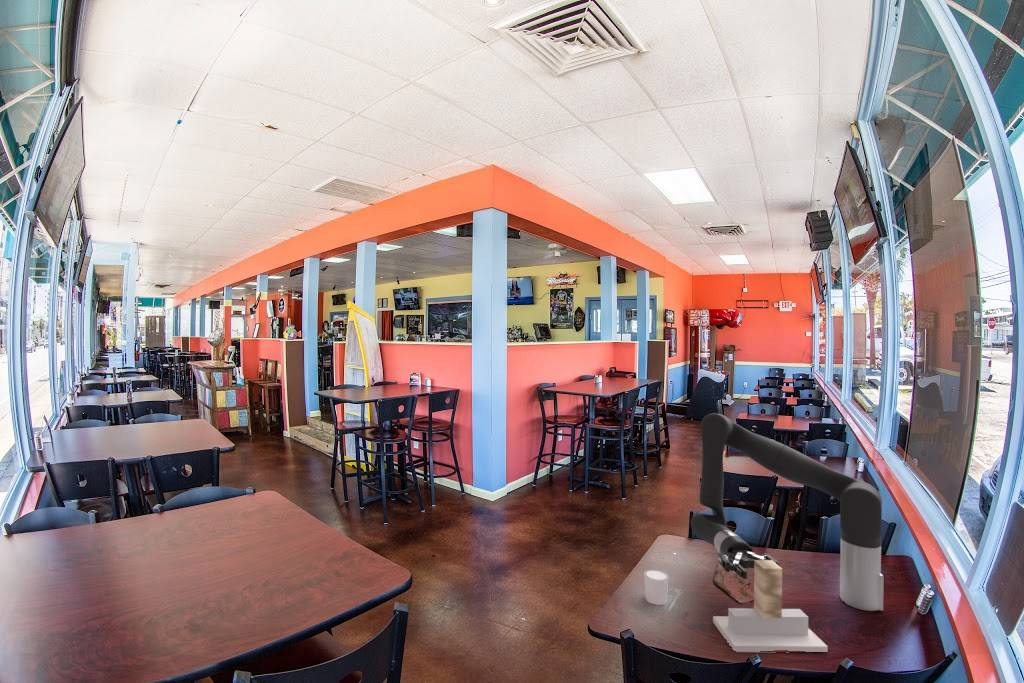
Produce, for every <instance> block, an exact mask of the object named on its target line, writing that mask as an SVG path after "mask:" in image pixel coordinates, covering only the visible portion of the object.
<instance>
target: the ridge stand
mask: <svg viewBox="0 0 1024 683" xmlns="http://www.w3.org/2000/svg"><path fill="white" fill-rule="evenodd" d="M727 609H728V612H727V613H728V615H727V616H725V615H724V616H716V615H715V616H713V617H712V623H713V625H715V627H716V628H717V630H718V631H719V632H720V634H721V635H722V637H723V638H724V640H725V639H726V640H727V641H726V640H725V641H726V642H727V644H728V643H729V644H728V645H729V647H730V646H731V647H732V648H731V647H730V648H731V650H732V651H733V650H734V651H736V652H735V653H761V652H760V651H774V650H788V651H805V652H829V651H828V647H829V646H828V645H827V644H826V643H825V642H824V641H823V640H822V639H821V638H820V637H818V636H817V634H816V633H815V632H813V631H812V630H811V628H809V616H808V615H807V614H806V613H805V612H804V611H803V610H802V609H801V608H782V618H763V617H762V616H761V615H760V614H759V613H758V612H757V610H756V609H755V608H740V607H739V608H738V607H736V608H735V607H733V608H729V607H728V608H727ZM734 651H733V652H734Z"/></svg>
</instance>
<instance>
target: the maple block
mask: <svg viewBox="0 0 1024 683" xmlns="http://www.w3.org/2000/svg"><path fill="white" fill-rule="evenodd" d="M753 571H754V572H753V575H754V576H753V577H754V578H753V593H754V601H753V609H756V610H757V612H758V613H759V614H760V615H761V616H762V617H763V618H782V609H783V608H782V607H783V606H782V605H783V568H782V567H781V566H780V565H779V566H778V565H777V564H776V563H775V562H774V561H773V560H754V570H753Z"/></svg>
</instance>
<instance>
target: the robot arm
mask: <svg viewBox="0 0 1024 683" xmlns="http://www.w3.org/2000/svg"><path fill="white" fill-rule="evenodd" d="M700 432H701V435H700V436H701V443H702V444H701V445H702V449H701V450H702V461H701V462H702V466H701V475H700V483H699V484H700V486H699V487H700V488H699V497H698V499H699V503H700V504H701V505H702V506H703V507H706V508H709V509H710V510H711V511H712V514H708V513H702V512H700V513H695V514H694V515H692V518H691V520H690V525H691V526H690V527H691V530H692V532H693V533H694V534H695V536H696V537H697V538H699V539H701V540H702V541H704V542H706V543H708V544H711V545H712V546H713V547H714V549H715V550H717V552H718V554H717V555H718V558H717V559H718V561H717V563H718V562H719V564H720V565H721V566H722V567H723V569H724V570H725V571H726V572H730V570H731V571H733V572H734V573H736V574H737V575H738V576H740V577H742V578H743V579H748V578H747V577H748V573H747V570H746V569H751V570H752V569H754V560H773V561H774V562H775V563H776V564H777V565H778V566H780V561H778V560H777V559H776V558H774V557H773V556H771V554H768V553H767V552H765V553H763V555H759V554H757V553H755V552H754V550H753V549H752V546H750V544H748V542H746V541H745V540H744V539H743V538H742V537H740V536H739V535H738V534H737V533H735V532H733V531H732V530H731V529H729V527H728V524H727V520H726V516H725V510H724V504H723V502H724V489H725V488H724V487H725V476H724V451H725V446H727V447H729V448H732V449H735V450H737V451H739V452H741V453H742V454H744V455H745V456H747V457H749V458H750V459H751V460H752V461H754V462H756V463H757V464H758V465H760V466H762V467H763V468H764V469H767V470H768V471H770V472H771V473H774V474H775V475H777V476H779V477H781V478H783V479H785V480H788V481H790V482H793V483H796V484H799V485H803V486H806V487H810V488H813V489H817V490H820V491H821V492H823V493H825V494H826V495H829V496H831V497H832V498H834V499H836V500H838V501H839V502H840V504H839V506H840V508H839V509H840V512H839V515H840V516H839V517H840V518H839V520H840V523H839V524H840V526H839V528H840V562H839V567H840V568H839V570H840V571H839V574H840V575H839V598H841V599H840V600H841V601H842V602H843V601H844V602H845V603H844V602H843V603H844V604H846V605H848V606H851V607H853V608H854V609H857V610H858V609H859V610H862V611H867V612H868V611H869V612H875V611H884V574H882V572H881V568H882V566H881V565H882V562H881V561H882V519H883V518H882V516H883V515H882V514H883V513H882V512H883V510H882V509H883V508H882V507H883V506H882V504H883V500H882V496H881V493H880V492H879V490H878V489H877V488H876V487H874V486H873V485H871V484H869V483H868V482H865V481H863V480H860V479H857V478H854V477H852V476H849V475H846V474H844V473H843V472H839V471H837V470H834V469H832V468H830V467H828V466H827V465H825V464H822V463H820V462H819V461H817V460H816V459H813V458H812V457H809V456H808V455H806V454H804V453H801V452H800V451H798V450H796V449H794V448H791V447H790V446H789V445H786V444H783V443H781V442H779V441H778V440H777V441H776V440H774V439H771V438H770V437H766V436H762V435H760V434H757V433H754V432H752V431H750V430H748V429H747V428H745V427H743V426H741V425H740V424H738V423H736V422H734V421H733V420H732V419H730V418H729V417H727V416H725V415H723V414H721V413H717V412H712V413H709V414H706V415H705V416H704V417H703V418H702V420H701V422H700Z"/></svg>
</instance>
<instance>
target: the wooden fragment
mask: <svg viewBox="0 0 1024 683" xmlns="http://www.w3.org/2000/svg"><path fill="white" fill-rule="evenodd" d="M722 572H723V570H722V569H721V568H720V567H719V568H717V567H716V568H715V574H714V579H713V584H716V585H717V586H718V587H720V588H721V589H722V590H723V591H725V592H726V593H727V594H728V595H729V596H731V597H732V598H733V599H734V600H736V601H738V604H739V603H741V602H746V601H747V600H745V599H743V598H742V597H741V598H734V597H733V596H734V595H731V594H732V593H731V591H729V590H728V589H726V585H725V584H724V582H723V581H724V577H725V574H724V576H723V575H722V574H723V573H722ZM725 572H726V571H725ZM726 573H727V572H726ZM732 573H734V572H732ZM727 574H730V573H729V572H728V573H727ZM727 574H726V575H727ZM733 575H735V576H733ZM733 575H732V578H733V577H734V578H736V579H737V580H739V581H737V582H738V583H741V586H742V585H743V584H746V585H748V584H747V583H745V581H743V580H744V579H742V578H741V577H740V576H738V575H737V574H733ZM730 578H731V576H730ZM725 579H726V578H725ZM736 579H734V581H733V582H735V581H736ZM726 581H727V580H726ZM729 582H731V581H729ZM737 582H735V583H737ZM746 585H744V586H742V587H743V588H746ZM748 586H749V585H748ZM743 588H739V589H741V590H739V589H738V590H739V591H738V592H740V593H741V594H742V595H743V596H744V598H748V597H749V598H752V599H754V598H753V596H751V595H750V594H748V593H747V592H746V591H745V590H747V589H750V588H751V587H748V588H746V589H745V590H744V589H743ZM747 595H748V596H747ZM750 600H751V599H750Z"/></svg>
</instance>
